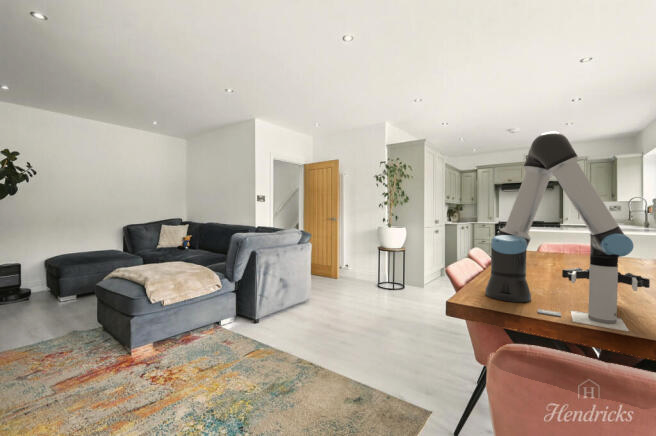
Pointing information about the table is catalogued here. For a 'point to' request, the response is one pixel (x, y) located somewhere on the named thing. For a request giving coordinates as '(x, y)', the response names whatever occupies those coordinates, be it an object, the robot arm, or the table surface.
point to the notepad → (583, 318)
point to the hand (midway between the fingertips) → (602, 282)
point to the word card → (549, 312)
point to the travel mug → (603, 288)
